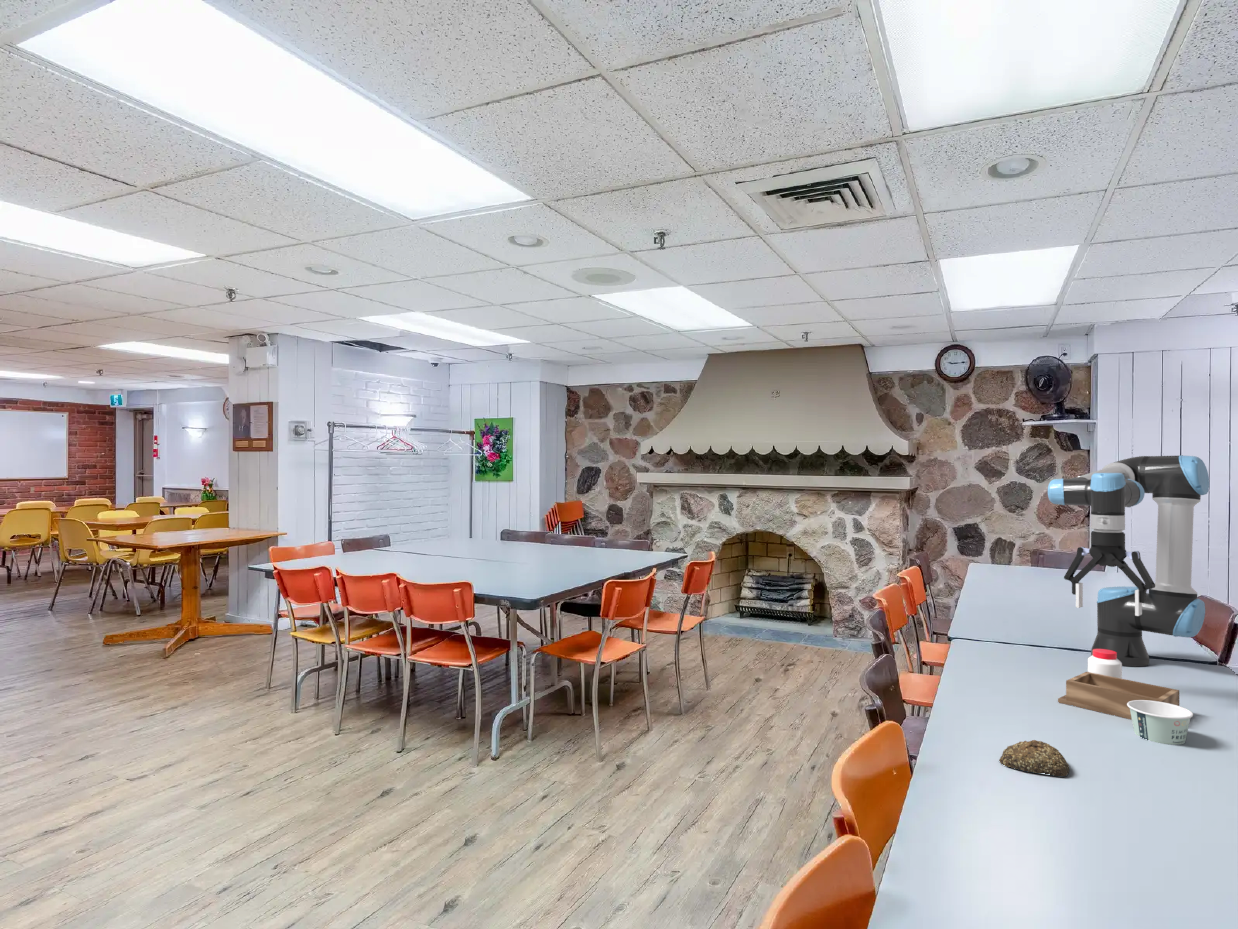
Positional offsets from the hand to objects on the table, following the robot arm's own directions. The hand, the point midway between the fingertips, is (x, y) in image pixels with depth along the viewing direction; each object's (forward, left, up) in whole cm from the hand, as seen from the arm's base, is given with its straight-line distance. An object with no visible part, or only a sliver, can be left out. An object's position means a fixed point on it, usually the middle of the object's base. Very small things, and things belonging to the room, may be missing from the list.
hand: (1108, 611), depth 191 cm
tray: (+8, +5, -23) cm, 25 cm away
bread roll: (+61, +6, -23) cm, 66 cm away
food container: (+23, +17, -23) cm, 37 cm away
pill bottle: (-5, -3, -23) cm, 24 cm away
